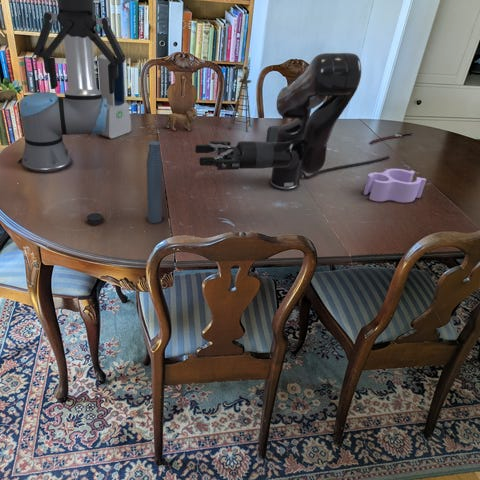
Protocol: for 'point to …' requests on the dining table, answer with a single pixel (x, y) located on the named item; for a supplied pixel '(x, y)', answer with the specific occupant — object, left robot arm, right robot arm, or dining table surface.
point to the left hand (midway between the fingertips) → (83, 90)
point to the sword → (388, 137)
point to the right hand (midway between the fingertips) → (197, 154)
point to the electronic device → (114, 100)
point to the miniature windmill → (244, 81)
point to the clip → (394, 186)
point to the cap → (94, 219)
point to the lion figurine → (182, 118)
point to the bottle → (154, 183)
